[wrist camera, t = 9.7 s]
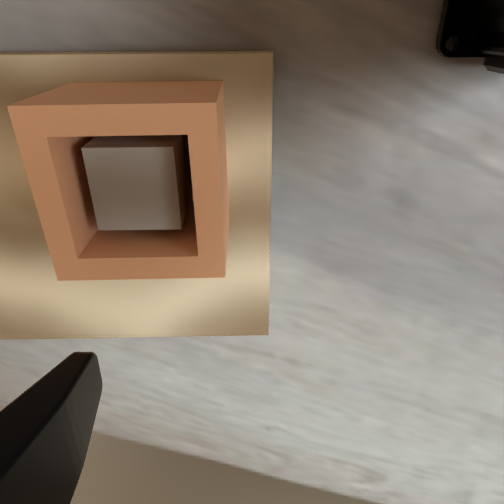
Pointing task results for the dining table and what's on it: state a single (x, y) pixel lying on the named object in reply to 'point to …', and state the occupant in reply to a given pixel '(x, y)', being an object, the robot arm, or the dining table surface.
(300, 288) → the dining table surface
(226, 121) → the post board
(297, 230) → the dining table surface
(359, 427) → the dining table surface
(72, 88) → the collar
